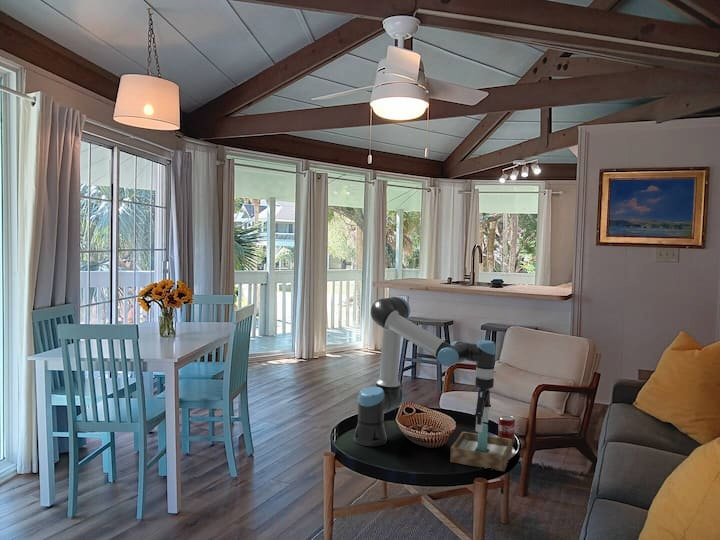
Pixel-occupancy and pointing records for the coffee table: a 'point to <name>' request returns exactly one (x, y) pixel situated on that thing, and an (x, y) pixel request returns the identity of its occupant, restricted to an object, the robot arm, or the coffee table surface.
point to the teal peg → (483, 439)
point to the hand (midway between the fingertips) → (481, 426)
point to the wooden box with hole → (468, 454)
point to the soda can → (506, 427)
